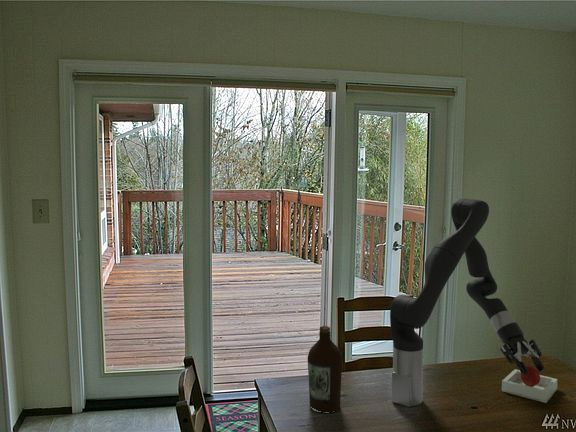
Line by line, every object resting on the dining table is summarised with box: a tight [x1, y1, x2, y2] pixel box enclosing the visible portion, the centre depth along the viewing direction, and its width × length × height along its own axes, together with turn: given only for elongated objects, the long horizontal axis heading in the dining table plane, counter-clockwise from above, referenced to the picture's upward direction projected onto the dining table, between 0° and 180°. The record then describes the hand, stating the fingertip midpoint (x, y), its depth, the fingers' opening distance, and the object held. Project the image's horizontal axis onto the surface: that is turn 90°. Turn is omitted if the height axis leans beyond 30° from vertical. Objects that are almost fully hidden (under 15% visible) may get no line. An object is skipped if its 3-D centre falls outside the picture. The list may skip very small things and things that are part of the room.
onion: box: [520, 363, 541, 387], centre depth 163 cm, size 6×6×8 cm
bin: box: [501, 368, 558, 404], centre depth 163 cm, size 13×13×4 cm
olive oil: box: [307, 325, 343, 413], centre depth 151 cm, size 11×11×25 cm
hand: (534, 372), depth 161 cm, fingers open, 6 cm apart
